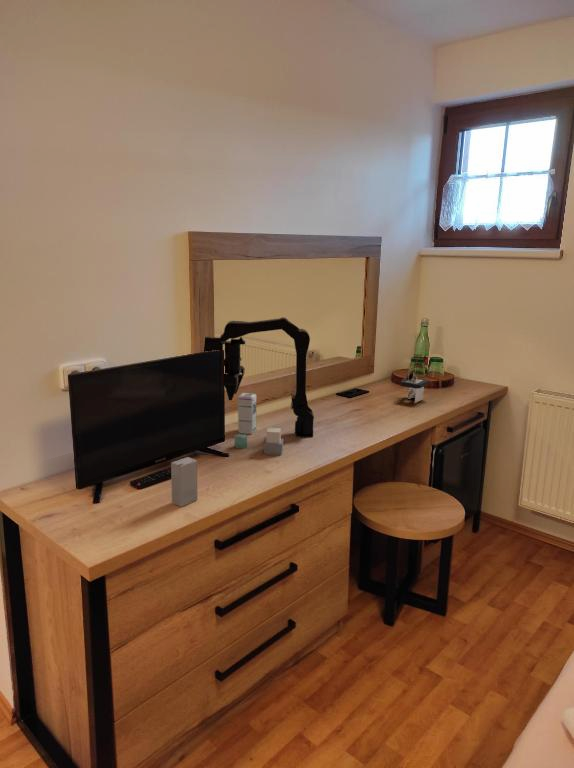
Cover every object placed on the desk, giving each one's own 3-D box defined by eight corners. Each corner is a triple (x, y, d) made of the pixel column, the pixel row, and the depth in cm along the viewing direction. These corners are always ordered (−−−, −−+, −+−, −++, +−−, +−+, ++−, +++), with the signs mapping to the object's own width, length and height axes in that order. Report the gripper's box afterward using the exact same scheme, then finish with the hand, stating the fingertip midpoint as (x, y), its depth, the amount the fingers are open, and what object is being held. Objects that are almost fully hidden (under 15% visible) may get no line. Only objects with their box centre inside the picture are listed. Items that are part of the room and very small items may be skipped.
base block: (282, 449, 204) (283, 438, 203) (281, 455, 198) (282, 444, 197) (266, 448, 204) (266, 437, 203) (264, 454, 198) (264, 443, 197)
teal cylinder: (247, 445, 207) (247, 434, 206) (246, 449, 202) (246, 438, 202) (235, 444, 207) (235, 433, 206) (233, 448, 203) (233, 437, 202)
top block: (280, 439, 202) (280, 428, 201) (279, 443, 198) (279, 432, 197) (267, 438, 203) (268, 427, 202) (266, 442, 198) (266, 431, 197)
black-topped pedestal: (398, 391, 290) (400, 365, 286) (449, 400, 275) (452, 373, 272) (372, 402, 267) (374, 374, 264) (426, 413, 253) (428, 384, 250)
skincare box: (187, 496, 164) (187, 455, 161) (198, 500, 162) (198, 460, 159) (170, 502, 160) (169, 461, 157) (181, 507, 157) (180, 466, 154)
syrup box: (252, 434, 218) (253, 397, 214) (237, 433, 219) (237, 396, 216) (256, 429, 223) (257, 393, 220) (241, 428, 224) (242, 392, 221)
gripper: (216, 350, 222) (216, 389, 225) (205, 360, 203) (205, 402, 207) (244, 351, 221) (244, 391, 224) (236, 361, 203) (236, 404, 206)
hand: (232, 397), depth 216 cm, fingers open, 9 cm apart
